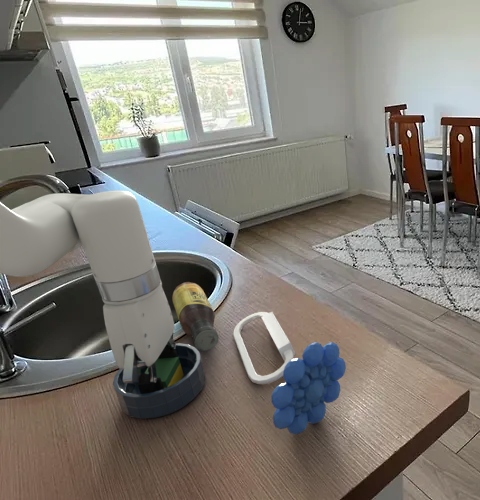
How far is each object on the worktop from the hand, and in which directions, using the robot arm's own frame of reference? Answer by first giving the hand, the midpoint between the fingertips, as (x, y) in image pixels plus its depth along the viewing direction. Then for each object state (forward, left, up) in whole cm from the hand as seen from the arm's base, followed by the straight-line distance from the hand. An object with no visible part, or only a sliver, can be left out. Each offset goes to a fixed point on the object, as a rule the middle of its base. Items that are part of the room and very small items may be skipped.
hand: (163, 385), depth 64 cm
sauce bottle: (-5, +26, +2) cm, 26 cm away
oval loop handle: (+14, +8, -1) cm, 16 cm away
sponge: (0, 0, -1) cm, 1 cm away
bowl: (0, 0, -1) cm, 1 cm away
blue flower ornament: (+23, -8, -1) cm, 24 cm away
